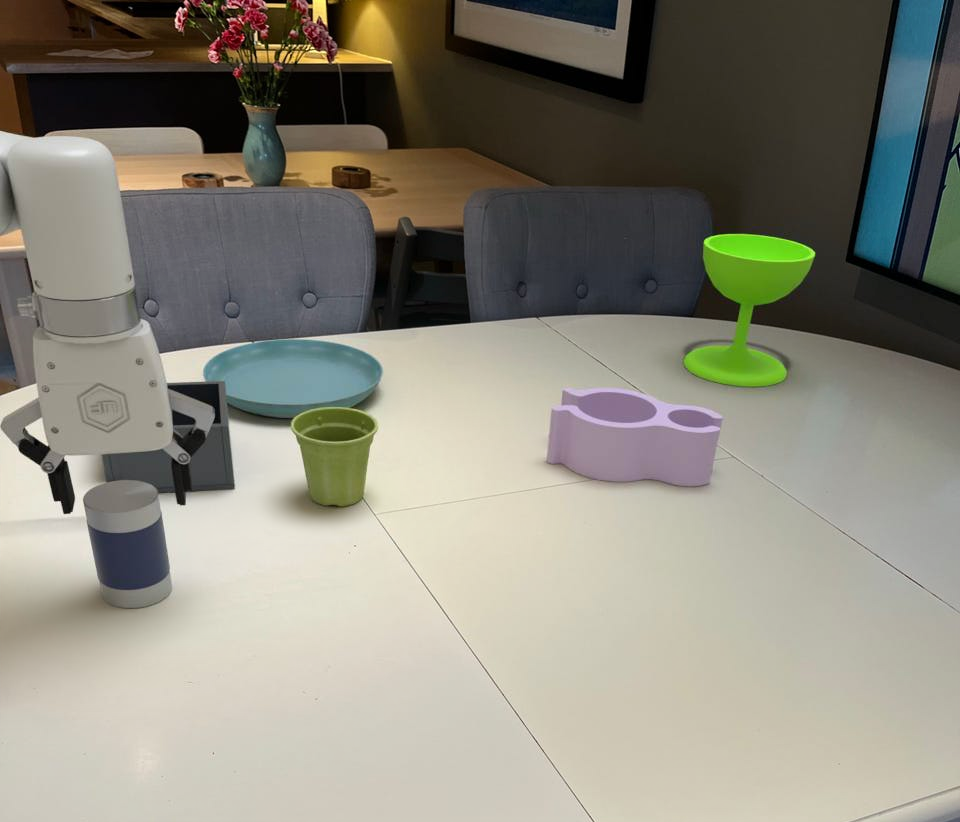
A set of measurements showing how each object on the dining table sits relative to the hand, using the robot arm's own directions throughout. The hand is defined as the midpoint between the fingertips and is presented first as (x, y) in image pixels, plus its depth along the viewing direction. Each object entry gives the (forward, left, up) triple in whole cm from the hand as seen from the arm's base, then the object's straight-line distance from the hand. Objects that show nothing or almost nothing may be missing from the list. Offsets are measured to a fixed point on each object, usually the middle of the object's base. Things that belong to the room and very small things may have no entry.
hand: (126, 502), depth 89 cm
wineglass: (+87, +52, -10) cm, 102 cm away
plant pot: (+21, +17, -10) cm, 28 cm away
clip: (+58, +21, -10) cm, 62 cm away
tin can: (0, 0, -9) cm, 9 cm away
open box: (+3, +27, -9) cm, 29 cm away
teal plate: (+19, +49, -10) cm, 53 cm away
